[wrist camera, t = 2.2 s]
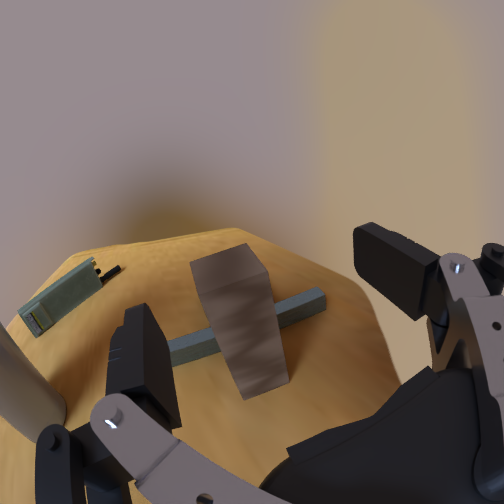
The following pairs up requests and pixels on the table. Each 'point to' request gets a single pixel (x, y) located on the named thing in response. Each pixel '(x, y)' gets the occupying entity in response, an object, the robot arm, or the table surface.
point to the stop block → (242, 318)
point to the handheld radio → (63, 296)
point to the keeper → (286, 314)
